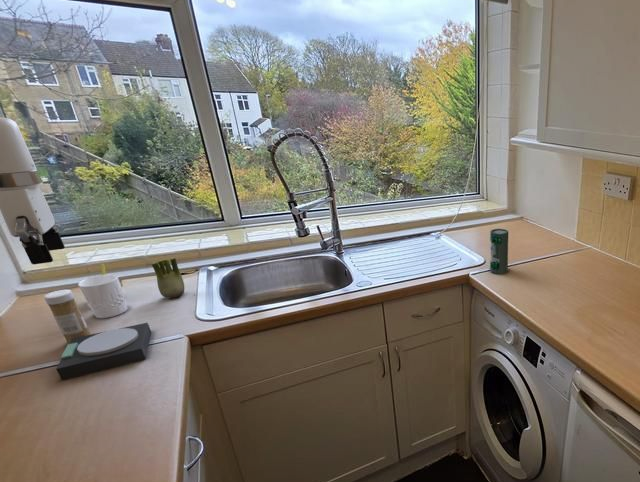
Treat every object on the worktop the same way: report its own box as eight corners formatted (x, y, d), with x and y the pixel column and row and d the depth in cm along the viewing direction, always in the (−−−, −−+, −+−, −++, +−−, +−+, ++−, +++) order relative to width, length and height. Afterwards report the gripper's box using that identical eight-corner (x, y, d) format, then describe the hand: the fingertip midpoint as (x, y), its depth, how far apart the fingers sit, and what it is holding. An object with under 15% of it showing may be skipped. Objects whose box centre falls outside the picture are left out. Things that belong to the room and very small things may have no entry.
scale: (61, 380, 87) (54, 365, 86) (76, 349, 98) (70, 335, 96) (145, 359, 95) (140, 345, 93) (151, 332, 105) (146, 319, 104)
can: (489, 268, 149) (488, 229, 144) (504, 266, 151) (505, 228, 145) (492, 274, 144) (492, 234, 138) (509, 273, 146) (509, 233, 140)
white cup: (91, 322, 109) (76, 289, 105) (93, 311, 115) (79, 279, 111) (130, 313, 114) (116, 281, 110) (130, 303, 119) (118, 272, 115)
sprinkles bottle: (97, 335, 103) (76, 288, 98) (85, 345, 99) (62, 296, 94) (75, 337, 102) (52, 289, 97) (62, 347, 98) (37, 298, 93)
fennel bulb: (187, 291, 127) (175, 255, 122) (186, 297, 123) (173, 260, 119) (164, 295, 124) (151, 258, 119) (161, 301, 120) (148, 264, 116)
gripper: (3, 174, 89) (37, 247, 96) (-32, 189, 76) (11, 272, 83) (51, 172, 93) (81, 242, 100) (26, 185, 80) (62, 265, 87)
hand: (49, 255), depth 92 cm, fingers open, 9 cm apart
